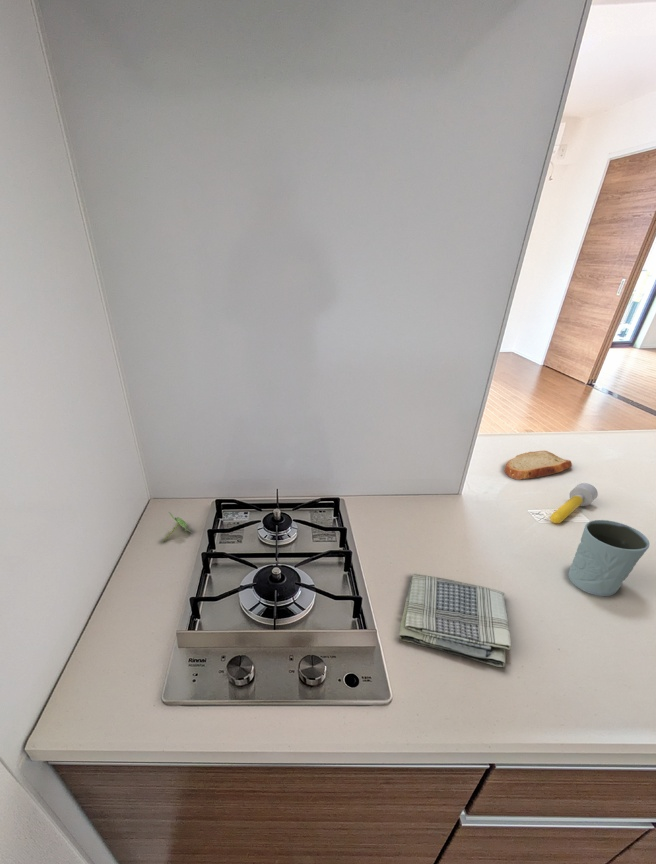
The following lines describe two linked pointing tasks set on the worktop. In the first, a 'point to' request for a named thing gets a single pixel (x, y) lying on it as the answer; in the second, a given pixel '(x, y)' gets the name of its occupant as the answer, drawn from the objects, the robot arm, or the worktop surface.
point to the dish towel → (456, 619)
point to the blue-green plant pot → (606, 556)
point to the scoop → (575, 501)
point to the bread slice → (535, 465)
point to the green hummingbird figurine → (179, 521)
